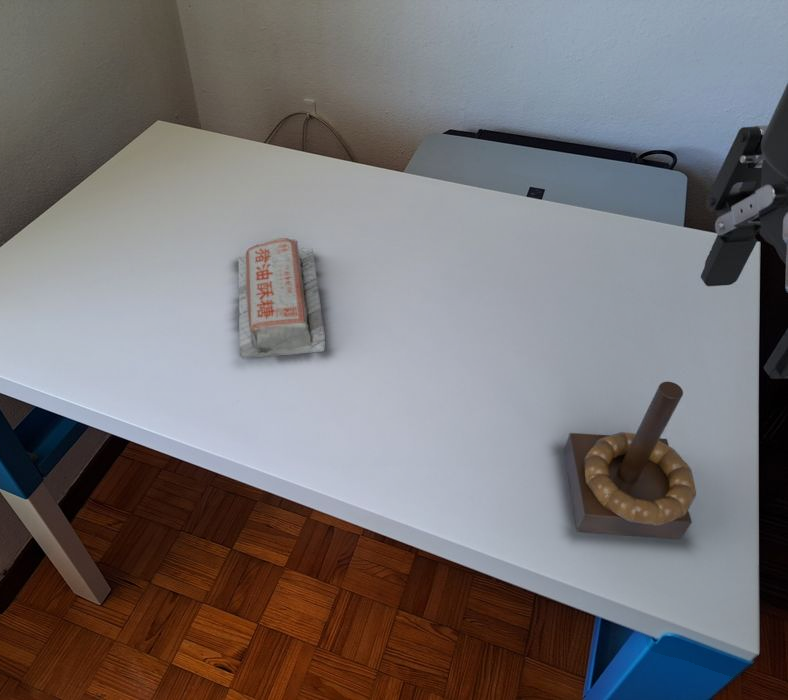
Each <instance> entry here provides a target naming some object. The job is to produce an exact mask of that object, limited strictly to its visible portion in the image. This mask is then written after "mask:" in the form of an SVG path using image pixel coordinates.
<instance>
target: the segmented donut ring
mask: <svg viewBox="0 0 788 700" xmlns="http://www.w3.org/2000/svg"><path fill="white" fill-rule="evenodd" d="M635 434H636V433H633V432H625V431H620V432H617V433H614V434H611V435H610V434H609V435H610V436H607V437H604V438H601V439H599V440H597V441H596V443H595V444H594V445H593V447H592V448H591V449H590V451H589V452H588V454H587V455H586V457H585V459H584V467H585V480H586V484H587V485H588V487H589V488H590V490H591V491H592V492H593V494H594V495H595V497H596V498H597V499H598V501H599V502H600V504H601V505H602V506H603V507H605V508H607V509H608V510H610V511H612V512H613V513H615V514H617V515H618V516H620V517H622V518H623V519H625V520H627V521H630V522H636V523H643V524H649V525H662V524H665V523H667V522H670V521H673V520H676V519H678V518H681V517H683V516H684V515H685V514H686V513H687V511H689V509H690V507H691V506H692V504H693V502H694V500H695V498H696V496H697V489H696V483H695V479H694V475H693V470H692V468H691V466H689V464H688V463H686V460H684V459H683V457H681V455H680V454H679V453H678V452H677V451H676V450H675V449H674V448H673V447H672V446H670V445H669V446H668V445H666V444H664V443H662V442H660V441H658V442H657V444H656V446H655V448H654V450H653V452H652V454H651V456H650V458H649V459H648V460H650V461H651V462H653V463H655V464H657V465H658V466H659V467H660V468H661V470H662V471H663V472H664V473H665V474H666V476H667V477H668V481H669V487H670V489H669V491H668V493H667V494H666V496H665V497H663V498H660V499H658V500H655V501H648V500H641V499H635V498H633V497H632V496H630V495H628V494H626V493H625V492H623V491H621V490H619V489H618V487H617V486H616V485H615V483H614V482H613V481H612V479H611V478H610V477H609V470H608V465H609V463H610V462H611V461H612V459H613V458H615V457H618V456H621V455H624V454H626V453H627V451H628V449H629V447H630V445H631V443H632V440H633V438H634V436H635Z"/></svg>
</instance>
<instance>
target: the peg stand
mask: <svg viewBox="0 0 788 700" xmlns="http://www.w3.org/2000/svg"><path fill="white" fill-rule="evenodd" d="M683 395H684V390H683V388H682V387H681V386H680V385H679V384H678V383H676V382H673V381H662V382H661V383H659V384H658V387H657V389H656V391H655V393H654V395H653V397H652V399H651V401H650V403H649V405H648V407H647V410H646V412H645V413H644V415H643V418H642V420H641V422H640V424H639V426H638V429H637V430H636V432H635V433H634V434H635V436H634V438H633V440H632V443H631V445H630V447H629V449H628V451H627V453H626V454H624V455H621V456H618V457H615V458H613V459H612V461H611V462H610V463H609V465H608V470H609V477H610V478H611V479H612V481H613V482H614V483H615V485H616V486H617V487H618V489H619V490H621V491H623V492H625V493H626V494H628V495H630V496H632V497H633V498H635V499H641V500H648V501H655V500H658V499H660V498H663V497H665V496H666V494H667V493H668V491H669V489H670V487H669V481H668V477H667V476H666V474H665V473H664V472H663V471H662V470H661V468H660V467H659V466H658V465H657V464H655V463H653V462H651V461H650V460H648V459H649V458H650V456H651V454H652V452H653V450H654V448H655V446H656V444H657V442H658V441H660V442H662V443H664V444H666V445H668V446H670V444H669V441H668V439H667V438H663V437H662V435H663V433H664V431H665V429H666V427H667V426H668V424H669V422H670V420H671V418H672V416H673V414H674V412H675V410H676V409H677V407H678V405H679V404H680V401H681V399H682V397H683ZM607 436H610V434H596V433H595V434H594V433H579V432H577V433H576V432H570V433H569V435H568V438H567V440H566V443H565V446H564V449H563V456H564V462H565V467H566V474H567V479H568V485H569V491H570V498H571V504H572V509H573V515H574V520H575V521H574V522H575V527H576V531H577V532H578V533H587V534H600V535H601V534H602V535H617V536H630V537H644V538H658V539H671V540H681V539H682V538H683V536H684V535H685V533H686V532H687V531H688V529H689V528H690V526H691V525H692V523H693V521H692V518H691V514H690V512H689V511H690V510H688V511H687V513H686V514H685V515H684V516H683V517H681V518H678V519H676V520H673V521H670V522H667V523H665V524H662V525H649V524H643V523H636V522H630V521H627V520H625V519H623V518H622V517H620V516H618V515H617V514H615V513H613V512H612V511H610V510H608V509H607V508H605V507H603V506H602V505H601V504H600V502H599V501H598V499H597V498H596V497H595V495H594V494H593V492H592V491H591V490H590V488H589V487H588V485H587V484H586V480H585V467H584V459H585V457H586V455H587V454H588V452H589V451H590V449H591V448H592V447H593V445H594V444H595V443H596V441H597V440H599V439H601V438H604V437H607ZM661 437H662V438H661Z"/></svg>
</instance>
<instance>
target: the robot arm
mask: <svg viewBox="0 0 788 700" xmlns="http://www.w3.org/2000/svg"><path fill="white" fill-rule="evenodd" d="M739 183H742V184H741V186H740V187H739V189H738V191H732V189H733V187H734V186H735V185H736V184H739ZM705 206H706V209H707V210H708V211H709V212H715V213H716V215H717V218H716V220H715V224H714V229H715V233H716V234H717V235H716V238H715V239H714V242H713V244H712V246H711V248H710V250H709V253H708V254H707V256H706V259H705V262H704V267H703V270H702V272H701V274H700V279H701V280H702V282H703V283H704V285H705V286H706V287H720V286H722V287H723V286H730V285H733V284H735V283H736V282H737V281H738V280H739V278H740V276H741V274H742V272H743V270H744V268H745V266H746V264H747V262H748V260H749V258H750V256H751V255H752V252H753V250H754V249H755V247H756V245H757V243H758V239H757V238H756V237H755V236H754V234H759V235H760V236H761V237H762V239H763V240H764V241H765V242H766V243H768V244H769V245H771V246H772V247H774V248H775V250H776V252H777V255H778V256H779V257H778V258H779V259H780V260H781V261H782V262H783V263H784V265H785V279H784V280H785V281H784V282H785V283H784V284H785V285H784V288H785V291H786V293H788V82H787V83H786V86H785V87H784V90H783V93H782V94H781V97H780V99H779V100H778V103H777V105H776V107H775V109H774V111H773V114H772V116H771V118H770V121H769V122H768V124H766V125H764V124H763V125H755V126H743V127H741V128H740V129H739V130H738V132H737V134H736V136H735V138H734V140H733V142H732V144H731V146H730V149H729V151H728V153H727V155H726V157H725V159H724V161H723V162H722V165H721V167H720V170H719V171H718V174H717V176H716V178H715V180H714V182H713V184H712V186H711V188H710V190H709V192H708V195H707V197H706V200H705ZM763 369H764V371H765V372H766V374H767V376H769V378H770V379H772V380H781V379H788V328H786V330H785V332H784V334H783V335H782V336H781V338H780V339H779V342H778V343H777V345H776V346H775V348H774V350H773V351H772V353H771V355H770V356H769V358H767V361H766V362H765V364H764V366H763Z"/></svg>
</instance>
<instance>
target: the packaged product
mask: <svg viewBox="0 0 788 700" xmlns="http://www.w3.org/2000/svg"><path fill="white" fill-rule="evenodd" d="M314 253H315V252H314V249H313V248H312V247H308V248H302V249H301V248H300V249H299V245H298V240H297V239H294V238H288V237H278V238H275V239H273V240H269V241H266V242H263V243H260V244H256V245H253V246H251V247H249V248H248V249H247V250H246V252H245V255H244V256H238V310H239V314H238V315H239V316H238V317H239V319H238V320H239V321H238V325H239V329H238V330H239V357H240V358H241V359H253V358H264V357H276V356H290V355H300V354H310V353H319V352H325V349H326V347H325V346H326V334H325V328H324V320H323V311H322V304H321V298H320V297H321V296H320V289H319V284H318V275H317V268H316V259H315V254H314Z"/></svg>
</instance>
